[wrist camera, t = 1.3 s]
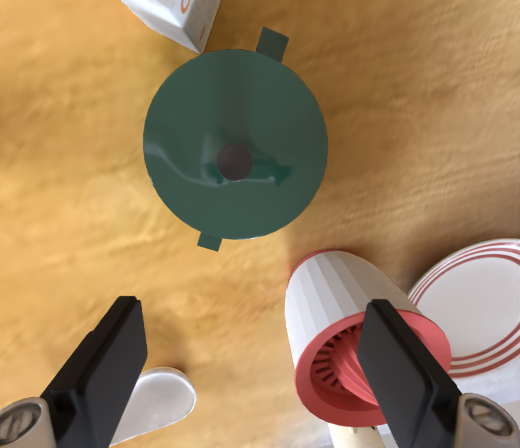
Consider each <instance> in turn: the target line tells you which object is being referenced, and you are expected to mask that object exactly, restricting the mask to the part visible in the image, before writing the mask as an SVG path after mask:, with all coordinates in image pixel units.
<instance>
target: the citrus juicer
mask: <svg viewBox="0 0 520 448" xmlns="http://www.w3.org/2000/svg"><path fill="white" fill-rule="evenodd" d="M372 299H387V300H389V301H390V303H391V304H392V305H393V306H394V308H395V309H396V310H397V311H398V313H399V314H400V315H401V316H402V318H403V319H404V320H405V321H406V323H407V324H408V325H409V326H410V328H411V329H412V330H413V331H414V333H415V334H416V335H417V336H418V338H419V339H420V340H421V341H422V343H423V344H424V345H425V346H426V348H427V349H428V350H429V351H430V353H431V354H432V355H433V356H434V358H435V359H436V360H437V361H438V363H439V364H440V365H441V366H442V368H443V369H444V370H445V371H446V373H447V374H448V372H449V370H450V367H451V358H452V354H451V349H450V344H449V341H448V339H447V337H446V335H445V333H444V332H443V331H442V330H441V328H440V327H439V326H438V325H437V324H436V323H435V322H433V321H432V320H430V319H428V318H427V317H425V316H424V315H423V314H422V313H421V312H420V310H419V309H418V308H417V307H416V306H415V305H414V304H413V303H412V302H411V301H410V300H409V299H408V298H407V296H406V295H405V294H404V293H403V292H402V291H401V290H400V289H399V288H398V287H397V286H396V285H395V284H394V282H393V281H392V280H391V279H390V278H389V277H388V276H387V275H386V274H384V273H383V272H382V271H381V270H380V269H379V268H377V267H376V266H374V265H372V264H371V263H369V262H368V261H366V260H365V259H363V258H361V257H359V256H357V255H356V254H353V253H350V252H347V251H343V250H337V249H325V250H320V251H317V252H314V253H312V254H310V255H308V256H307V257H305V258H304V259H303V260H302V261H300V262H299V264H298V265H297V266H296V267H295V269H294V271H293V273H292V274H291V276H290V279H289V282H288V285H287V292H286V300H285V319H286V326H287V331H288V336H289V342H290V347H291V352H292V357H293V362H294V367H295V380H294V382H295V387H296V392H297V394H298V396H299V398H300V400H301V402H302V403H303V405H304V406H305V407H306V408H307V409H308V410H309V411H310V412H311V413H312V414H314V415H315V416H316V417H318V418H320V419H322V420H324V421H326V422H328V423H331V424H335V425H339V426H345V427H371V426H377V425H383V424H386V423H387V422H386V420H385V418H384V416H383V413H382V411H381V409H380V407H379V405H378V403H377V401H376V398H375V396H374V394H373V392H372V390H371V388H370V386H369V383H368V381H367V379H366V377H365V375H364V373H363V371H362V368H361V366H360V364H359V362H358V360H357V355H356V352H357V347H358V342H359V338H360V333H361V329H362V324H363V320H364V315H365V311H366V306H367V304H368V303H369V302H371V300H372Z"/></svg>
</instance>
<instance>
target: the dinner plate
mask: <svg viewBox="0 0 520 448" xmlns="http://www.w3.org/2000/svg"><path fill="white" fill-rule="evenodd" d="M407 298H408V299H409V300H410V301H411V302H412V303H413V304H414V305H415V306H416V307H417V308H418V309H419V310H420V312H421V313H422V314H423V315H424V316H425V317H427V318H428V319H430V320H432V321H433V322H435V323H436V324H437V325H438V326H439V327H440V328H441V330H442V331H443V332H444V333H445V335H446V337H447V339H448V341H449V344H450V349H451V354H452V358H451V367H450V370H449V372H448V375H449V376H450V378H451V379H452V380H453V381H461V380H469V379H473V378H478V377H481V376H484V375H487V374H490V373H493V372H495V371H497V370H500V369H502V368H504V367H506V366H507V365H509V364H511V363H513V362H514V361H516V360H517V359H519V358H520V239H516V238H502V239H493V240H487V241H483V242H480V243H476V244H473V245H470V246H468V247H465V248H463V249H460V250H458V251H456V252H454V253H452V254H451V255H449V256H447V257H445V258H444V259H442V260H441V261H439V262H438V263H437V264H435V265H434V266H433V267H432V268H430V269H429V270H428V271H427V272H426V273H425V274H424V275H423V276H422V277H421V278H420V279H419V280H418V281H417V282H416V283H415V284H414V286H413V287H412V288H411V290H410V291H409V293H408V294H407Z"/></svg>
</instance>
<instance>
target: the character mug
mask: <svg viewBox="0 0 520 448" xmlns="http://www.w3.org/2000/svg"><path fill="white" fill-rule="evenodd" d="M328 424H329V429H330V433H331V436H332V440H333V444H334V447H335V448H385V445H384V443H383V441H382V439H381V436H380V434H379V431H378V428H377V426H371V427H345V426H339V425H335V424H331V423H328Z"/></svg>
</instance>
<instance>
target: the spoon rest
mask: <svg viewBox="0 0 520 448" xmlns="http://www.w3.org/2000/svg"><path fill="white" fill-rule="evenodd" d="M196 399H197V393H196V390H195V387H194V385H193V383H192V382H191V380H190V379H189V378H188V377H187V376H186V375H185V374H184V373H183V372H181V371H180V370H177V369H175V368H172V367H166V366H161V367H155V368H151V369H149V370H146V371H144V372H143V373H141V374H140V376H139V378H138V381H137V383H136V385H135V387H134V390H133V392H132V394H131V397H130V399H129V401H128V404H127V406H126V408H125V411H124V413H123V415H122V418H121V420H120V422H119V425H118V427H117V429H116V432H115V434H114V436H113V439H112V441H111V443H110V446H112V445H115V444H117V443H120V442H122V441H125V440H127V439H130V438H133V437H136V436H138V435H141V434H144V433H147V432H150V431H153V430H156V429H159V428H162V427H165V426H167V425H170V424H173V423H175V422H177V421H179V420H181V419H183V418H184V417H185V416H187V415H188V414H189V413H190V412H191V411H192V410H193V408H194V406H195V404H196ZM110 446H109V447H110Z"/></svg>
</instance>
